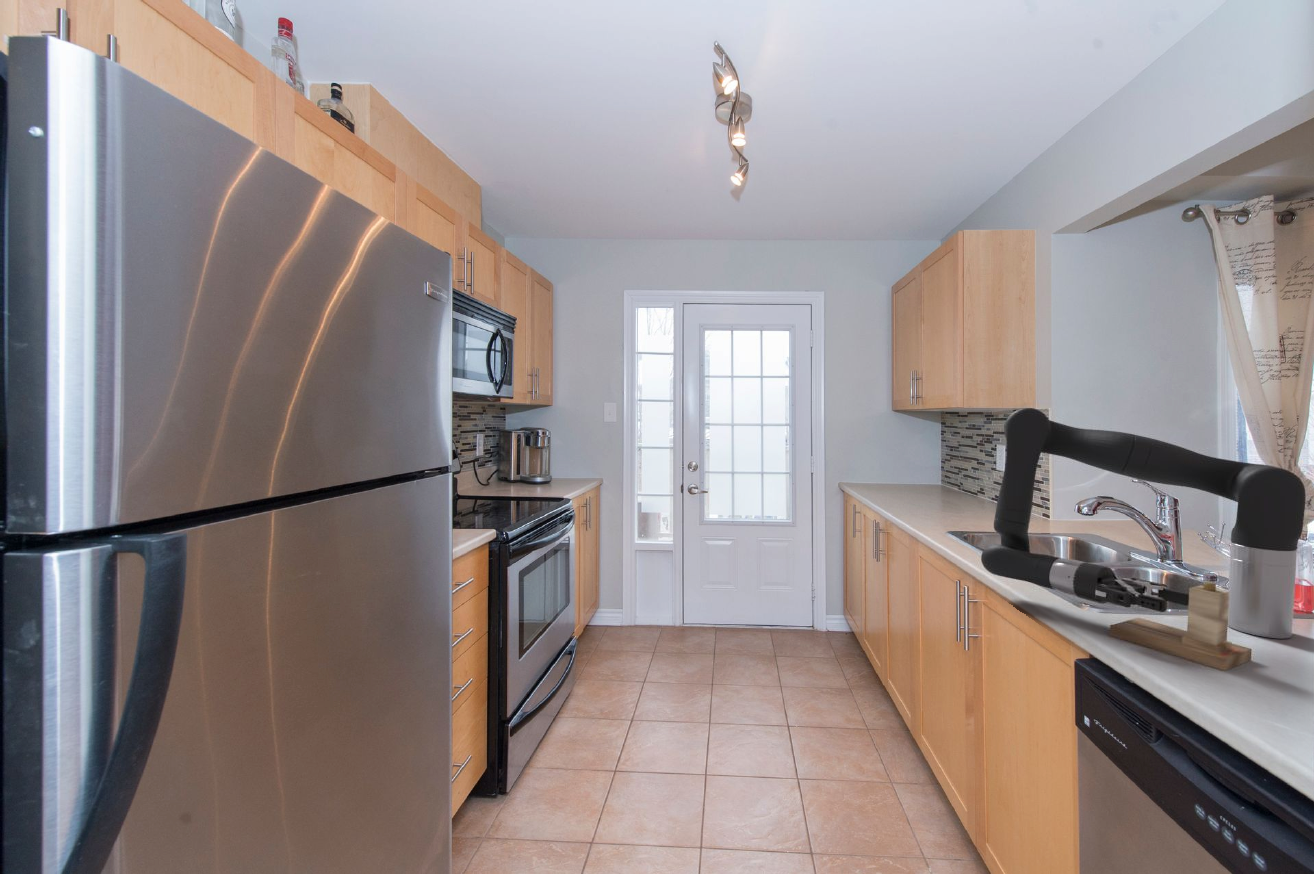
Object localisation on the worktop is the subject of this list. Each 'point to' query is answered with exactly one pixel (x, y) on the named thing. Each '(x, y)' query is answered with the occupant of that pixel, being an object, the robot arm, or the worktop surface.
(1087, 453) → the robot arm
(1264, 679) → the worktop surface
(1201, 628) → the pale wood tall block
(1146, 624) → the plank
